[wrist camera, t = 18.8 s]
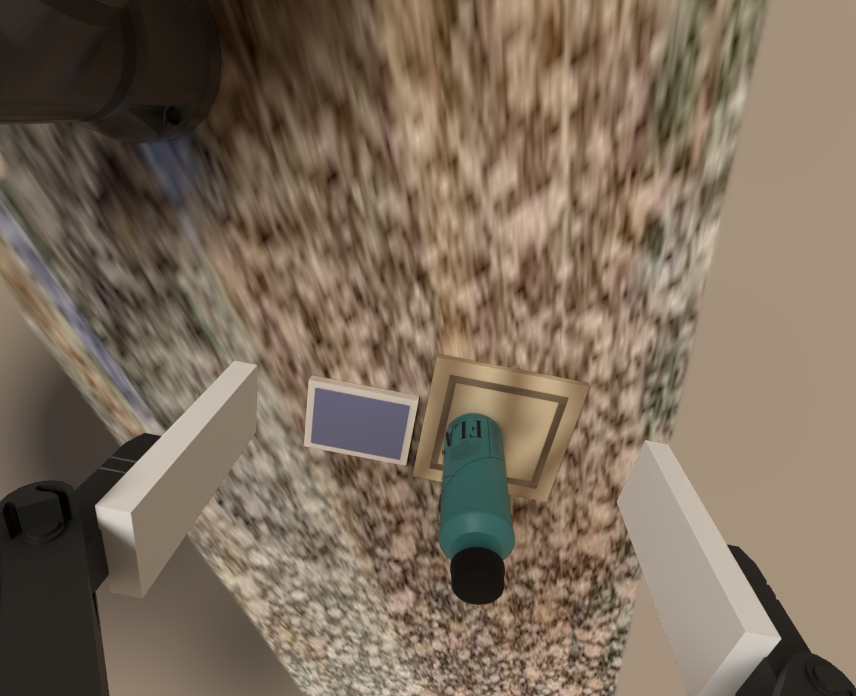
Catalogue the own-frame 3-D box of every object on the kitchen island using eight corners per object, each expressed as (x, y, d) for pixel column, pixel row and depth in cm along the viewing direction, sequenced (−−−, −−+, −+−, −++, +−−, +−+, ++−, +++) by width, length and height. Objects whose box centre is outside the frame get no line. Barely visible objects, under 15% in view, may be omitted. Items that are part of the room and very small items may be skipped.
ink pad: (306, 440, 57) (303, 447, 56) (311, 375, 53) (308, 380, 52) (406, 460, 57) (405, 466, 56) (419, 396, 53) (418, 402, 52)
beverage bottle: (485, 393, 51) (496, 545, 33) (513, 439, 54) (538, 604, 36) (432, 418, 53) (415, 574, 35) (462, 461, 55) (460, 628, 37)
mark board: (413, 471, 58) (412, 476, 57) (437, 353, 51) (436, 357, 50) (545, 497, 58) (546, 502, 57) (588, 382, 51) (590, 387, 50)
